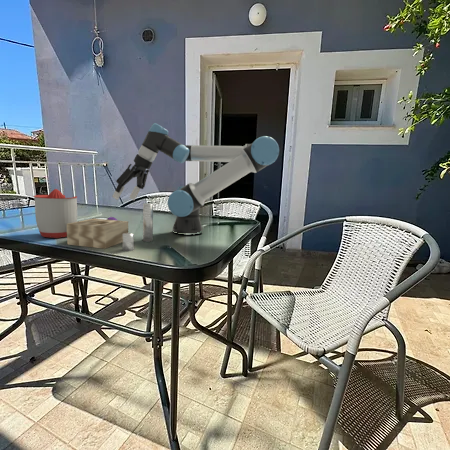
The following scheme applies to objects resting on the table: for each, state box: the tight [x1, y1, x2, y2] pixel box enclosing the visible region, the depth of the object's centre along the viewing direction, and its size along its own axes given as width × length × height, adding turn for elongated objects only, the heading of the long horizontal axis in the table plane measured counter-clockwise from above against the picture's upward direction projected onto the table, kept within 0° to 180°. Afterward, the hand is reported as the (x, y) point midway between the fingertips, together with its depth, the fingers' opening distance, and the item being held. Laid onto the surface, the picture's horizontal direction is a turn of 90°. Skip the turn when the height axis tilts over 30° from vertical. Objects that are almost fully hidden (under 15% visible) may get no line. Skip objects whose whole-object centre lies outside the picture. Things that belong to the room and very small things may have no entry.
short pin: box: [121, 232, 135, 252], centre depth 99 cm, size 4×4×6 cm
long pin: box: [142, 202, 154, 243], centre depth 114 cm, size 4×4×16 cm
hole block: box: [66, 218, 129, 250], centre depth 108 cm, size 16×16×8 cm
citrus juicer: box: [33, 188, 78, 239], centre depth 114 cm, size 16×17×20 cm
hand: (123, 198), depth 123 cm, fingers open, 13 cm apart
